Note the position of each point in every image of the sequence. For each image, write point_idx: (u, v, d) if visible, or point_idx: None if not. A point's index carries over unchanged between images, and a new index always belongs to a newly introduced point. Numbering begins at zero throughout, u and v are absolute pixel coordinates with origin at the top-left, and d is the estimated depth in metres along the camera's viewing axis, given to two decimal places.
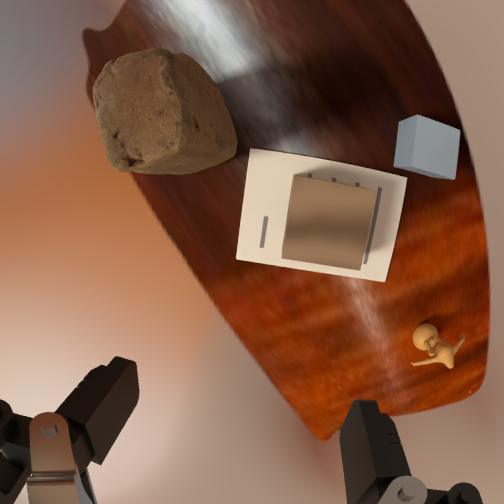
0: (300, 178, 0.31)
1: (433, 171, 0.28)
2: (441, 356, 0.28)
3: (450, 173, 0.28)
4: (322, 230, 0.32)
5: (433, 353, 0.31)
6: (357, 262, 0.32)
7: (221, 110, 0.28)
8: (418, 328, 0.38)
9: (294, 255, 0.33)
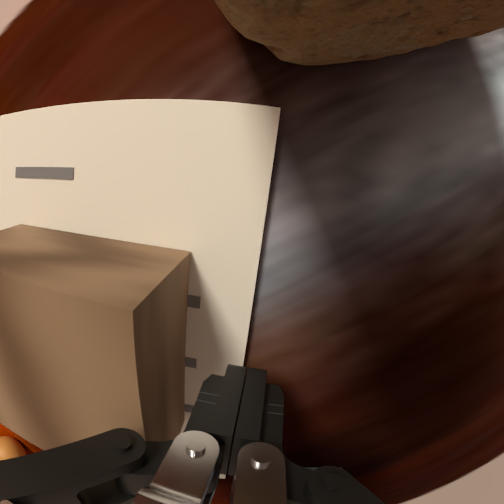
0: (126, 334, 0.06)
1: None
2: None
3: None
4: (14, 372, 0.07)
5: None
6: (6, 422, 0.09)
7: None
8: (13, 448, 0.16)
9: None
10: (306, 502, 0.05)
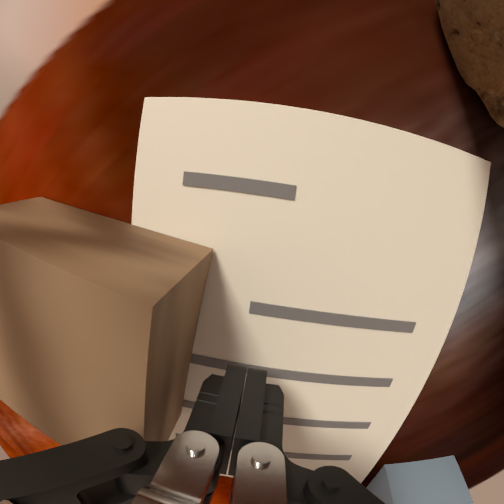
0: (142, 328, 0.06)
1: None
2: None
3: None
4: (17, 347, 0.08)
5: None
6: None
7: None
8: None
9: None
10: (306, 502, 0.05)
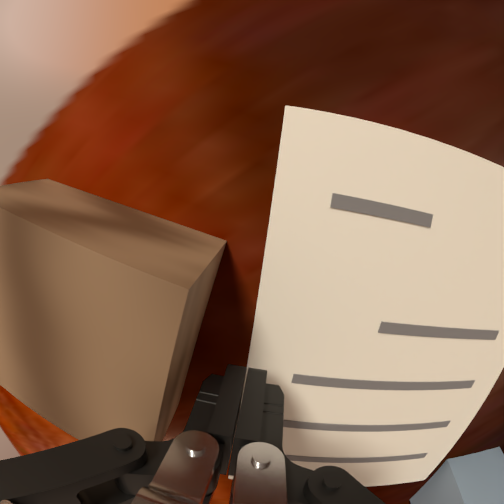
0: (174, 310, 0.07)
1: None
2: None
3: None
4: (27, 329, 0.08)
5: None
6: None
7: None
8: None
9: None
10: (306, 502, 0.05)
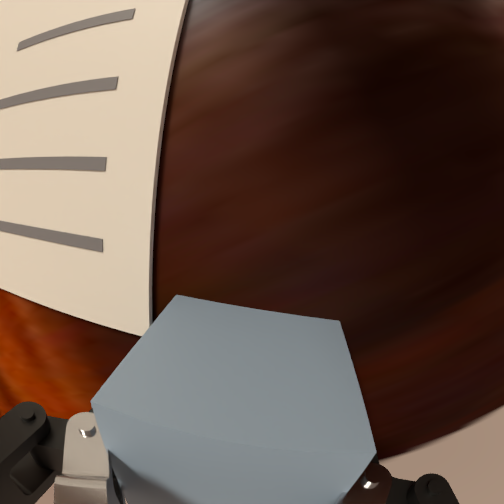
0: None
1: (117, 470, 0.06)
2: None
3: None
4: None
5: None
6: None
7: None
8: None
9: None
10: None
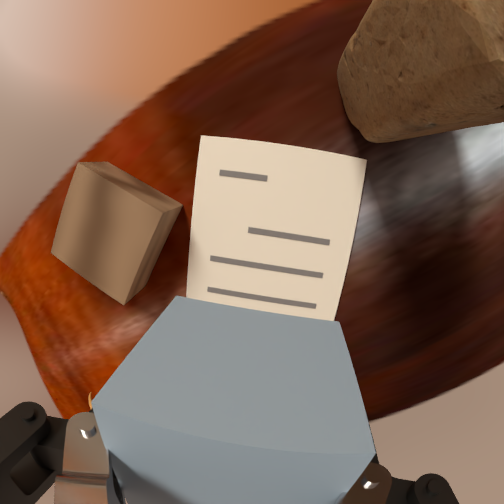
0: (157, 219, 0.22)
1: (117, 471, 0.06)
2: None
3: None
4: (93, 224, 0.22)
5: None
6: (58, 252, 0.24)
7: (440, 131, 0.16)
8: None
9: (77, 179, 0.22)
10: None
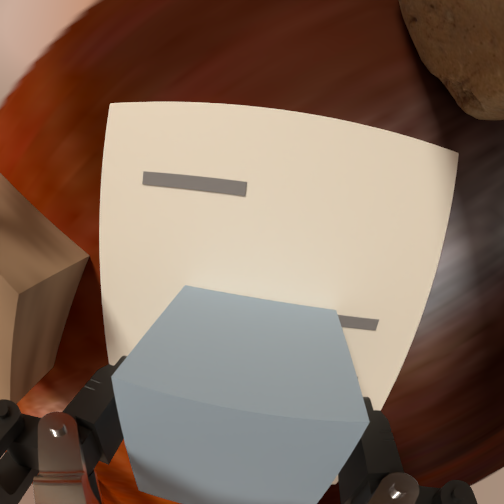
0: (13, 303, 0.08)
1: (130, 447, 0.07)
2: None
3: (152, 487, 0.07)
4: None
5: None
6: None
7: None
8: None
9: None
10: None
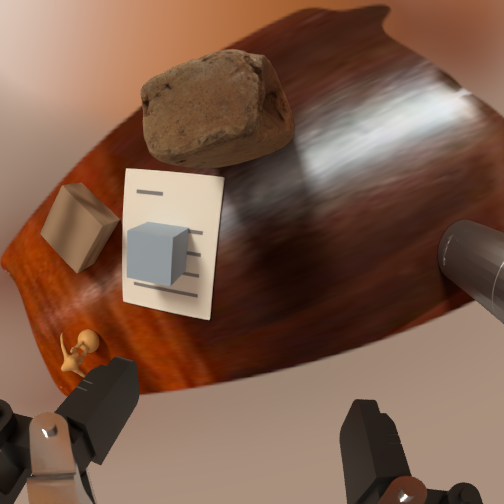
0: (99, 228, 0.36)
1: (127, 253, 0.35)
2: (68, 359, 0.35)
3: (130, 272, 0.35)
4: (66, 223, 0.36)
5: (71, 351, 0.38)
6: (44, 234, 0.37)
7: (245, 157, 0.30)
8: (93, 334, 0.45)
9: (60, 195, 0.35)
10: None
